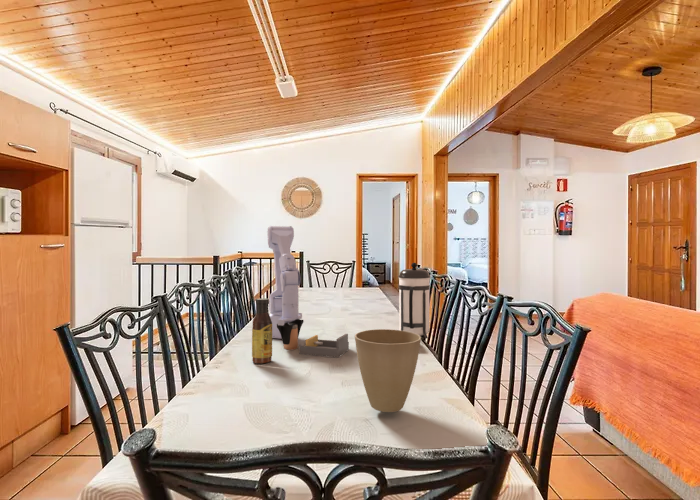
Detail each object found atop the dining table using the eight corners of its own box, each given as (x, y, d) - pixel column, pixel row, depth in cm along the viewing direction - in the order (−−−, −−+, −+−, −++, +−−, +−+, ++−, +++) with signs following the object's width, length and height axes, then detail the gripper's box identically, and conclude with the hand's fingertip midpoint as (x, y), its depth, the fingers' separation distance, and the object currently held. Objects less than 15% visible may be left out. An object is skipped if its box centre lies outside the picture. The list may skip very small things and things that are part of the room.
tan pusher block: (305, 350, 132) (305, 340, 132) (315, 344, 140) (315, 334, 140) (317, 351, 131) (317, 341, 131) (326, 345, 139) (326, 335, 139)
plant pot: (382, 426, 78) (381, 347, 78) (342, 402, 90) (342, 333, 90) (435, 409, 86) (435, 337, 86) (392, 389, 98) (392, 326, 98)
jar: (280, 349, 137) (280, 325, 137) (287, 346, 142) (287, 323, 142) (293, 351, 136) (293, 326, 136) (300, 347, 140) (299, 324, 140)
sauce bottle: (267, 365, 119) (266, 300, 119) (248, 364, 121) (248, 300, 121) (275, 359, 126) (275, 297, 126) (257, 358, 127) (257, 297, 127)
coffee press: (386, 334, 161) (386, 262, 161) (418, 331, 167) (418, 261, 167) (410, 344, 145) (410, 263, 145) (444, 339, 152) (444, 263, 152)
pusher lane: (299, 354, 132) (299, 336, 132) (312, 346, 142) (312, 330, 142) (337, 357, 127) (337, 340, 127) (348, 349, 137) (348, 333, 137)
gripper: (290, 307, 131) (290, 347, 131) (309, 301, 144) (309, 338, 144) (272, 306, 133) (272, 346, 133) (292, 301, 147) (292, 337, 147)
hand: (290, 342), depth 139 cm, fingers open, 6 cm apart
